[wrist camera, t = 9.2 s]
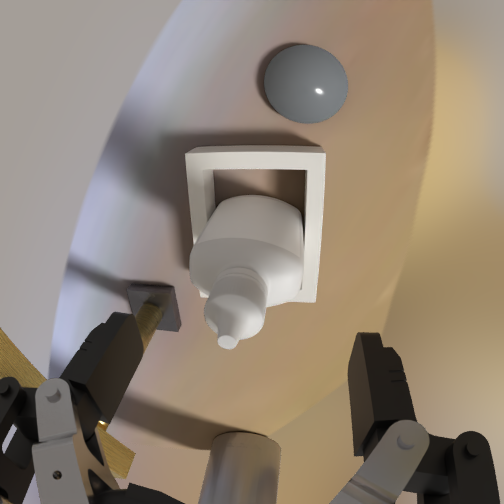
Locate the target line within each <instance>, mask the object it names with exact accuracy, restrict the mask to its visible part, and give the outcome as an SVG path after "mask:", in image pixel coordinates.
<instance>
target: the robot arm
mask: <svg viewBox="0 0 504 504" xmlns="http://www.w3.org/2000/svg"><path fill="white" fill-rule="evenodd" d="M143 351H144V346H143V341H142V338H141V335H140V332H139V328H138V325H137V322H136V318H135V316H134V315H133V314H127V313H120V312H113V313H112V314H111V316H110V317H109V319H108V320H107V321H106V323H101V324H100V325H98V326H97V327H96V328H94V329H93V330H92V331H91V332H90V334H89V335H88V336H87V338H86V339H85V342H83V344H82V345H81V346H80V350H78V351H77V352H76V354H75V355H74V357H73V358H72V360H71V361H70V363H69V364H68V366H67V367H66V369H65V370H64V372H63V373H62V375H61V376H60V377H59V378H52V379H49V380H46V381H45V382H43V383H42V384H41V385H40V386H39V387H38V388H32V387H22V386H21V385H20V383H19V382H18V380H17V379H16V378H14V377H4V378H2V379H0V504H22V503H23V500H24V498H25V495H26V493H27V490H28V488H29V485H30V483H31V480H32V478H33V475H34V473H35V475H36V481H37V486H38V491H39V497H40V501H41V504H185V503H182V502H180V501H178V500H176V499H174V498H172V497H170V496H168V495H166V494H164V493H162V492H160V491H157V490H153V489H149V488H146V487H142V486H138V485H136V484H132V483H129V485H128V488H127V489H120V488H119V485H118V483H117V482H116V480H115V478H114V477H113V475H112V473H111V471H110V469H109V466H108V463H107V460H106V456H105V453H104V450H103V446H102V443H101V439H100V436H99V432H98V429H97V427H96V426H97V424H98V422H99V421H101V422H104V423H108V424H110V423H111V420H112V418H113V416H114V414H115V412H116V410H117V408H118V406H119V404H120V402H121V400H122V398H123V395H124V393H125V391H126V389H127V387H128V385H129V383H130V381H131V379H132V377H133V375H134V373H135V371H136V369H137V367H138V365H139V363H140V361H141V359H142V357H143ZM348 385H349V394H350V406H351V418H352V430H353V446H354V456H364V463H363V465H362V466H361V467H360V469H359V470H358V471H357V472H356V474H355V475H354V476H353V477H352V478H351V480H350V481H349V482H348V483H347V484H346V485H345V486H344V487H343V489H342V490H341V491H340V492H339V493H338V495H336V497H335V498H334V499H333V500H332V501H331V502H330V503H329V504H395V502H396V500H397V498H398V497H399V495H400V494H401V492H402V491H407V492H413V493H417V504H500V499H499V492H498V486H497V480H496V475H495V469H494V464H493V459H492V454H491V450H490V446H489V443H488V441H487V439H486V438H485V437H484V436H483V435H482V434H480V433H478V432H475V431H467V432H464V433H462V434H460V435H459V436H458V437H457V438H456V439H450V438H444V437H438V436H434V435H431V434H429V433H428V432H427V431H426V429H425V428H424V427H423V426H422V425H421V424H419V423H418V422H417V420H416V417H415V413H414V408H413V404H412V399H411V396H410V391H409V387H408V384H407V382H406V376H405V373H404V369H403V365H402V361H401V358H400V356H398V354H397V353H396V352H395V350H394V349H393V348H392V347H387V348H386V347H383V344H382V340H381V336H380V334H379V333H364V332H358V333H357V335H356V338H355V342H354V346H353V350H352V353H351V357H350V360H349V365H348ZM12 424H14V426H15V427H16V428H17V430H16V432H15V434H14V436H13V438H12V440H11V441H10V443H9V446H8V448H7V450H6V452H5V453H3V451H2V444H3V442H4V440H5V438H6V436H7V434H8V432H9V430H10V428H11V426H12ZM280 459H281V447H280V446H279V445H278V443H276V442H275V441H273V440H271V439H269V438H267V437H264V436H261V435H257V434H252V433H242V432H233V433H225V434H222V435H219V436H217V437H215V439H214V440H213V444H212V448H211V452H210V456H209V460H208V464H207V468H206V472H205V476H204V481H203V485H202V489H201V493H200V498H199V502H198V504H276V501H277V490H278V480H279V469H280Z"/></svg>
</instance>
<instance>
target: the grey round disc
mask: <svg viewBox="0 0 504 504" xmlns="http://www.w3.org/2000/svg"><path fill="white" fill-rule="evenodd" d="M264 88H265V92H266V95H267V98H268V100H269V102H270V103H271V105H272V106H273V107H274V109H275V110H276V111H277V112H279V113H280V114H281V115H282V116H284V117H285V118H287V119H290V120H292V121H295V122H299V123H306V124H307V123H318V122H321V121H324V120H326V119H328V118H330V117H332V116H333V115H334V114H336V113H337V112H338V111H339V109H340V108H341V107H342V105H343V104H344V102H345V99H346V97H347V92H348V80H347V76H346V73H345V70H344V68H343V66H342V65H341V63H340V62H339V61H338V60H337V59H336V57H334V56H333V55H332V54H331V53H329V52H328V51H326V50H324V49H322V48H319V47H316V46H312V45H297V46H292V47H289V48H287V49H284V50H283V51H281V52H280V53H278V54H277V55H276V56H275V57H274V58H273V59H272V60H271V62H270V63H269V65H268V67H267V69H266V72H265V77H264Z"/></svg>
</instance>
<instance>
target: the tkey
mask: <svg viewBox="0 0 504 504" xmlns="http://www.w3.org/2000/svg"><path fill="white" fill-rule="evenodd" d="M135 318H136V322H137V325H138V328H139V332H140V335H141V338H142V341H143V346H144V351H143V354H144V352H145V350H146V348H147V346H148V344H149V342H150V340H151V339H152V337H153V335H154V333H155V331H156V329H157V327H158V325H159V323H160V321H161V319H162V312H161V310H160V309H159V308H158V307H157V306H155V305H153V304H150V303H146V304H143V305H142V306H141V308H140V310H139V311H138V313H137V314H136V316H135ZM4 377H14V378H16V379H17V380H18V382H19V383H20V385H21V386H22V387H32V388H38V387H39V386H40V385H41V384H42V383H43V382H45V381H46V380H47V379H45V377H44V376H43V375H42V374H41V373H40V372H39V371H38V370H37V369H36V368H35V367H34V366H33V365H32V364H31V363H30V362H29V361H28V359H27V358H26V357H25V356H24V355H23V354H22V353H21V352H20V351H19V350H18V348H17V347H16V346H15V345H14V344H13V343H12V341H11V340H10V339H9V338H8V337H7V335H6V334H5V333H4V332H3V331H2V329H1V328H0V379H2V378H4ZM108 425H109V424H108V423H104V422H101V421H99V422H98V424H97V426H96V427H97V429H98V432H99V436H100V439H101V443H102V446H103V450H104V453H105V456H106V460H107V463H108V466H109V469H110V471H111V473H112V475H113V477H114V478H122V479H126V477H127V475H128V472H129V469H130V467H131V464H132V461H133V459H134V456H135V454H136V453H134V452H133V451H131V450H130V449H129V448H127V447H126V446H124V445H123V444H122V443H120V442H119V441H118V440H116V439H115V438H114V437H112V436H111V435H110V434H108V433H107V432H106V430H107V427H108Z"/></svg>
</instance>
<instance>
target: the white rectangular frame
mask: <svg viewBox="0 0 504 504" xmlns="http://www.w3.org/2000/svg"><path fill="white" fill-rule="evenodd" d="M185 160H186V172H187V183H188V194H189V204H190V214H191V224H192V233H193V242H194V244H195V242H196V241H197V239H198V237H199V235H200V234H201V232H202V230H203V229H204V227H205V226H206V224H207V222H208V221H209V219H210V218H211V216H212V214H213V213H214V211H215V210H216V206H215V191H214V176H213V169H293V170H305V203H304V228H303V243H304V272H303V279H302V284H301V288H300V291H299V293H298V295H297V296H296V297H295V298H294V299H292V300H291V301H288V302H316V292H317V282H318V272H319V260H320V248H321V235H322V221H323V205H324V186H325V162H326V153H325V151H324V150H323V148H322V147H318V146H286V145H237V146H205V147H196V148H194V149H192V150H191V151H189V152H187V153H185ZM200 297H207V298H208V297H209V296H208V295H206V294H205V293H203V292H202V291H200Z"/></svg>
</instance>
